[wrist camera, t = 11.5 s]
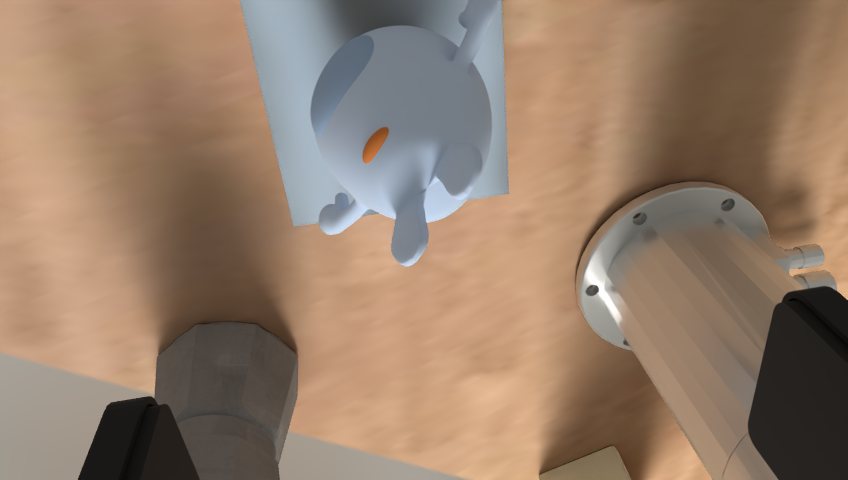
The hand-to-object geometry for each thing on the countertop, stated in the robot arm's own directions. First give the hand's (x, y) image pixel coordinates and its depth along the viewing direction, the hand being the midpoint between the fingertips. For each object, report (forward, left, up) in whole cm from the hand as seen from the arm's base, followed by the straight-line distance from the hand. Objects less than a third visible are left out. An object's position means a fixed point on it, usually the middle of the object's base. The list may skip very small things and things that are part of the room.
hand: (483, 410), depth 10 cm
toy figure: (0, 0, -19) cm, 19 cm away
